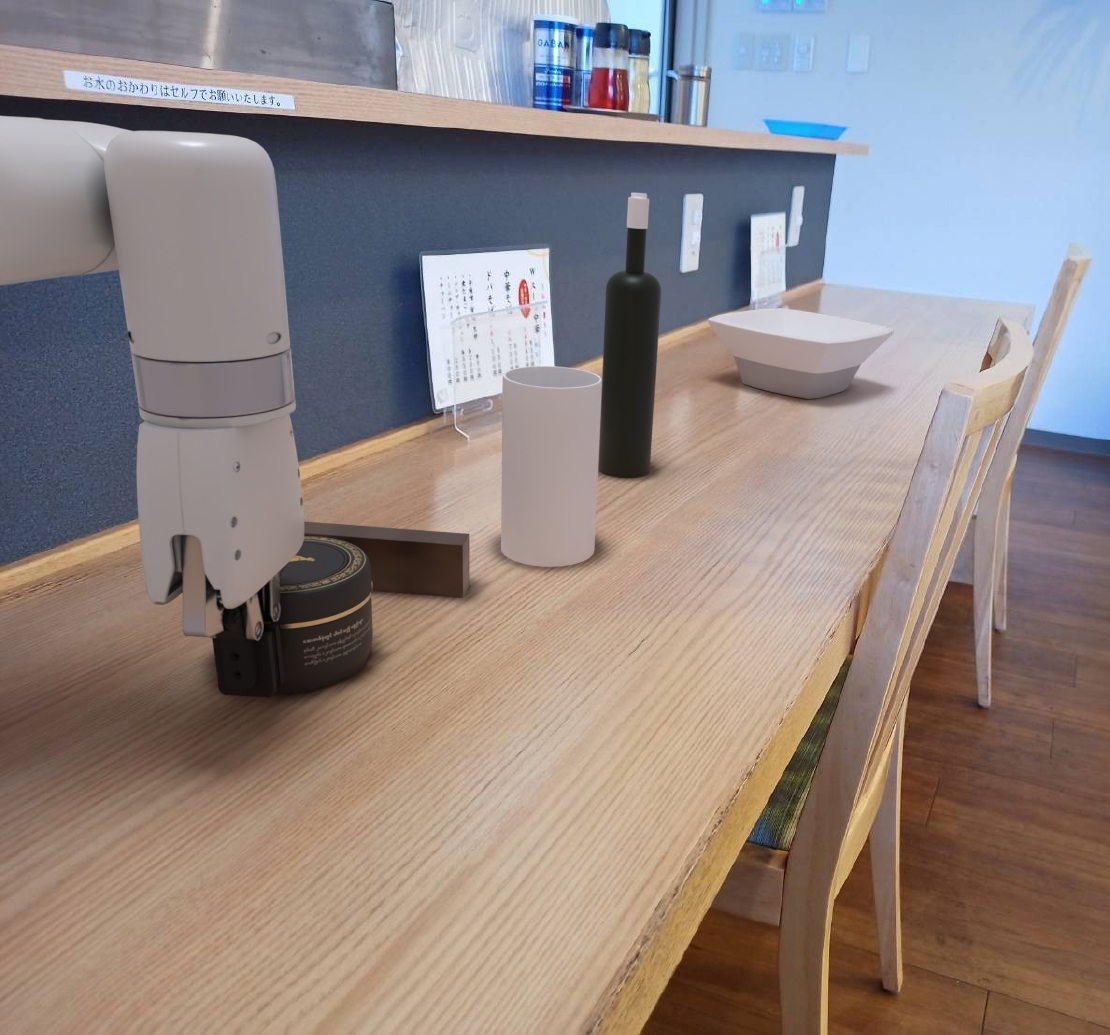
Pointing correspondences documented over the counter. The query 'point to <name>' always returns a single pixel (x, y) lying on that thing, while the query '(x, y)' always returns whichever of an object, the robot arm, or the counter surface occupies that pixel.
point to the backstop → (407, 557)
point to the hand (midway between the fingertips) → (252, 688)
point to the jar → (324, 615)
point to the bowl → (797, 349)
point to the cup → (549, 464)
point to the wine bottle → (630, 356)
